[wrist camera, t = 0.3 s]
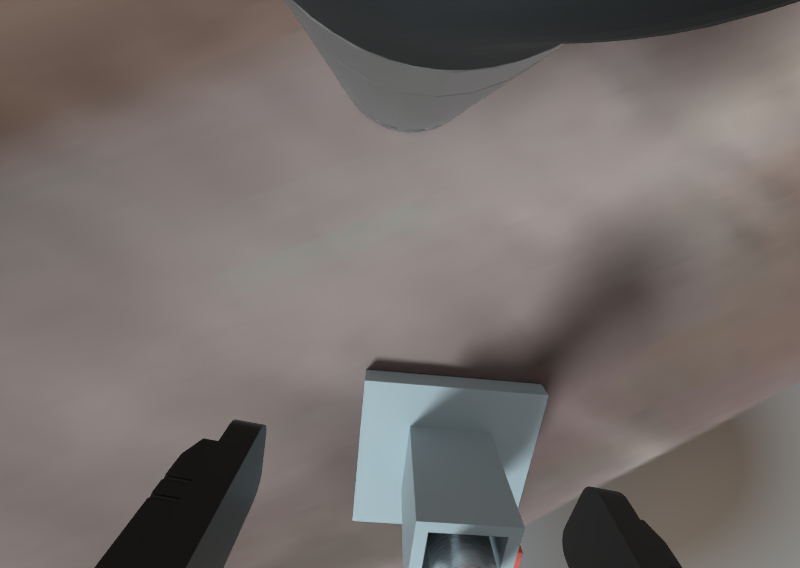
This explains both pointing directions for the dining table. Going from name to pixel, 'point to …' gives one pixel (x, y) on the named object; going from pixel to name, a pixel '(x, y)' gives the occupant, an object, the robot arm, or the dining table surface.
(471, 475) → the stand base
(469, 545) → the column
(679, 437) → the dining table surface
